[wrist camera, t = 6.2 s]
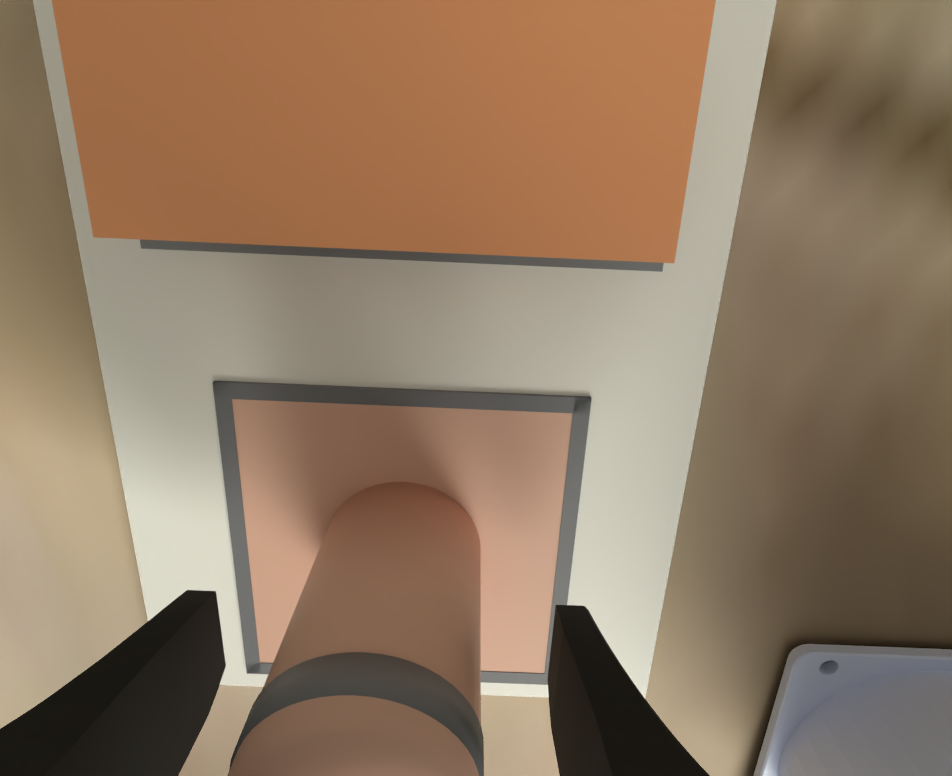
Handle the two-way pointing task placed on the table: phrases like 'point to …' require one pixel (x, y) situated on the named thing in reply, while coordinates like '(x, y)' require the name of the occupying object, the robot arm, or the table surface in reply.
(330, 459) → the picture board
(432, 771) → the cylinder
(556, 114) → the button
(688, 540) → the table surface
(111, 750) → the robot arm
